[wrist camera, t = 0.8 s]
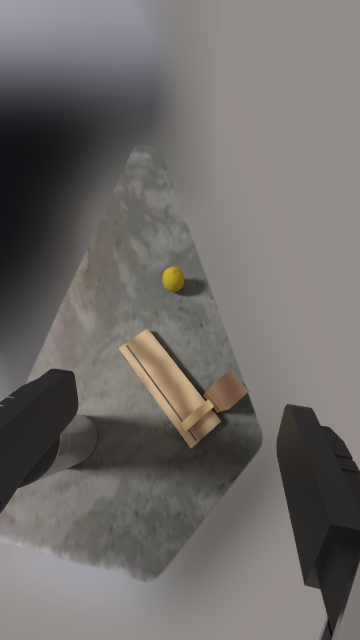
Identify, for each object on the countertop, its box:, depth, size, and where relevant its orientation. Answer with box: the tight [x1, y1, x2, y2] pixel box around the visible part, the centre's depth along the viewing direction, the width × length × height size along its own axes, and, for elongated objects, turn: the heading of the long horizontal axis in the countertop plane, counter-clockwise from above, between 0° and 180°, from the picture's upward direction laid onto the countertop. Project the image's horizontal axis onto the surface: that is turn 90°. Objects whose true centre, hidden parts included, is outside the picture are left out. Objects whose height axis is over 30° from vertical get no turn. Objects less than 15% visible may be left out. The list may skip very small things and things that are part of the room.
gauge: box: [179, 370, 249, 433], centre depth 45 cm, size 12×4×14 cm, turn 129°
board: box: [119, 328, 221, 448], centre depth 52 cm, size 8×26×2 cm, turn 39°
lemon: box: [163, 267, 184, 292], centre depth 60 cm, size 6×6×8 cm
